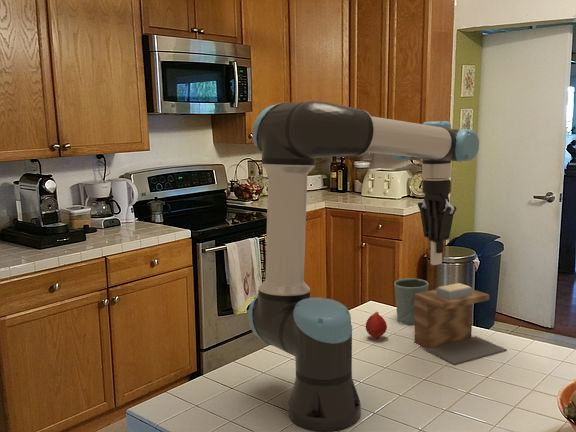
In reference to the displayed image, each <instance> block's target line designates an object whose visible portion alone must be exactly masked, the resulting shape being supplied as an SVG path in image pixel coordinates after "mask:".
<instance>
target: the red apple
mask: <svg viewBox="0 0 576 432" xmlns="http://www.w3.org/2000/svg"><path fill="white" fill-rule="evenodd" d="M387 329H388V323H387V321H386V320H385V319H384V318H383V316H382V315H380V314H379V311H375V312H374V313H373V314H371V315H370V316H369V317H368V319H367V320H366V322H365V331H366V332H367V333H368V335H370V337H372V338H374V339H375V340H379V339H380V338H381V337H382V336H384V335H385V333H386V331H387Z"/></svg>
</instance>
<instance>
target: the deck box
mask: <svg viewBox="0 0 576 432" xmlns="http://www.w3.org/2000/svg"><path fill="white" fill-rule="evenodd" d="M435 290H436V295H437V296H440V297H443V298H446V299H448V300H451V299H456V298H461V297H466V296H471V295H472V291H473V290H474V289H473V287H471V286H470V285H466V284H464V283H459V282H457V283H452V284H447V285H440V286H438V287H436V288H435Z"/></svg>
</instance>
